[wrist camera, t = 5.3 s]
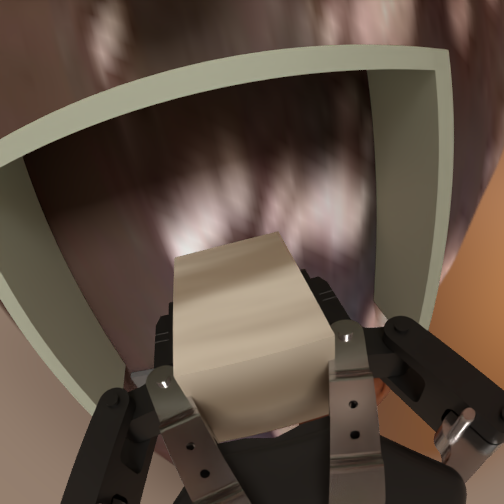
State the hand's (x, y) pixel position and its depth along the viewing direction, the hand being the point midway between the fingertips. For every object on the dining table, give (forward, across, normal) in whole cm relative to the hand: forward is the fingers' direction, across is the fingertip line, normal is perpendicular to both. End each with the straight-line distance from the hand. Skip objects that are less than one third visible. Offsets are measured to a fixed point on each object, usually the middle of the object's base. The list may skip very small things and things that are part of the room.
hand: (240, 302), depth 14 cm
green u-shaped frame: (+6, 0, -1) cm, 6 cm away
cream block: (+1, 0, 0) cm, 1 cm away
